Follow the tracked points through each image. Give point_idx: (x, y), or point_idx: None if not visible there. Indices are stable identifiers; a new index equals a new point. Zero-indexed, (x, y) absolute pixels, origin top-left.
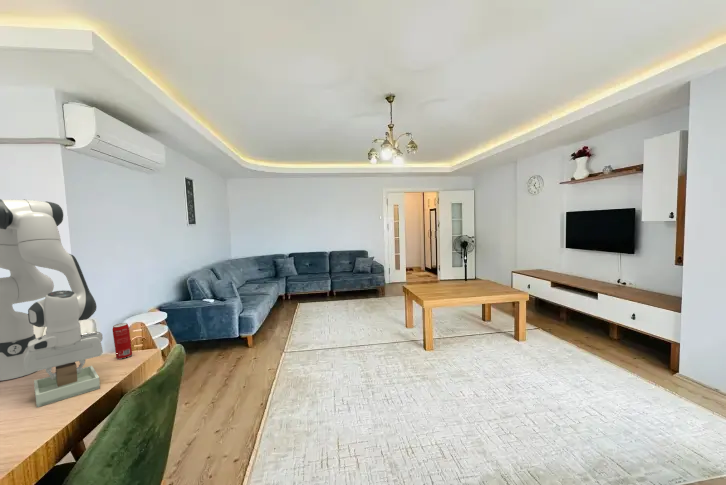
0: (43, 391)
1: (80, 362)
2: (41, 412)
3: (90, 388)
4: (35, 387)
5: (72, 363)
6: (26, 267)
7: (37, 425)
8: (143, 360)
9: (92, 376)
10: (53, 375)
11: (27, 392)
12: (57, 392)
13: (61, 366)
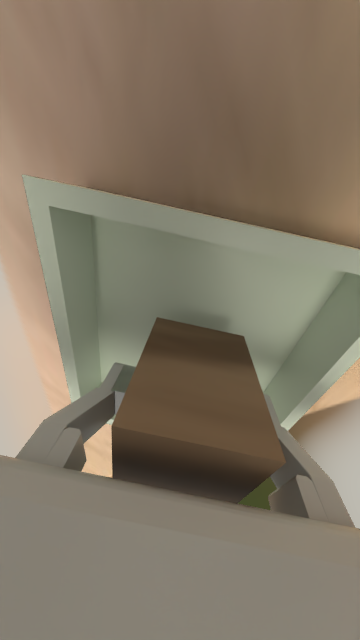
0: (113, 290)
1: (272, 506)
2: None
3: None
4: (60, 345)
5: (231, 485)
6: None
7: (101, 443)
8: None
9: (300, 358)
10: (116, 411)
11: (48, 144)
12: None
13: (149, 473)
